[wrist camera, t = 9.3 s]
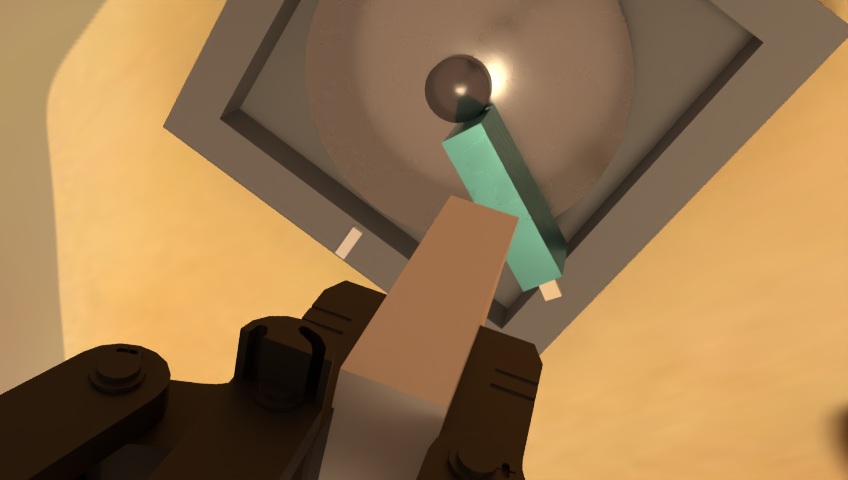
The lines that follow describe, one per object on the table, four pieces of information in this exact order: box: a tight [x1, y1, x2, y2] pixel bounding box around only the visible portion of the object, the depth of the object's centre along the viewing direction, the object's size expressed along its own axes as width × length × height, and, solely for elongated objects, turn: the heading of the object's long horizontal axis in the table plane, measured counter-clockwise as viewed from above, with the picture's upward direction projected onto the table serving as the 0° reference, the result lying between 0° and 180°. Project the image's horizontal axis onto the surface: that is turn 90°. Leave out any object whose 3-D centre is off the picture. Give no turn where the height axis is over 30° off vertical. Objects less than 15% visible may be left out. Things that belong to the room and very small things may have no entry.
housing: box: [163, 0, 848, 355], centre depth 38 cm, size 24×24×4 cm
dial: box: [305, 0, 634, 292], centre depth 36 cm, size 18×16×6 cm
